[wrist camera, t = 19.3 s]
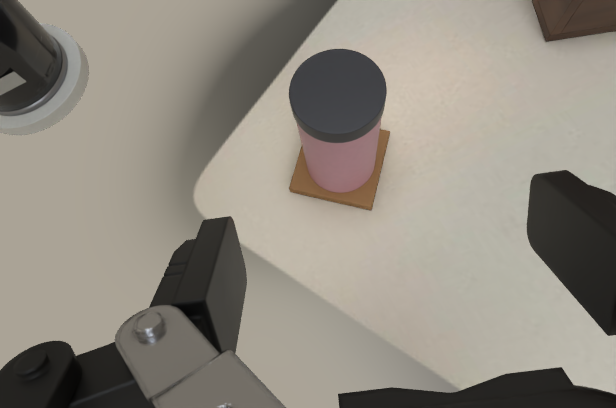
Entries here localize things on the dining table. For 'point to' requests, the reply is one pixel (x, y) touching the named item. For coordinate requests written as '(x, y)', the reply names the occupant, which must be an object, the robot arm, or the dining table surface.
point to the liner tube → (338, 116)
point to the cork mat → (356, 198)
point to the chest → (575, 17)
